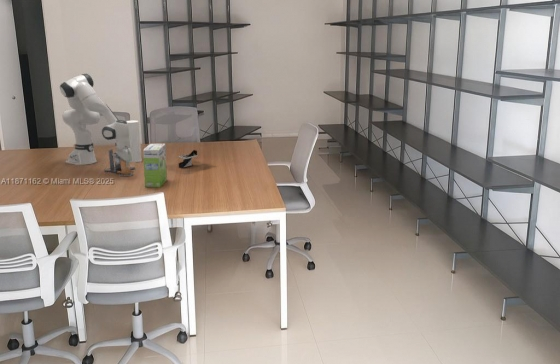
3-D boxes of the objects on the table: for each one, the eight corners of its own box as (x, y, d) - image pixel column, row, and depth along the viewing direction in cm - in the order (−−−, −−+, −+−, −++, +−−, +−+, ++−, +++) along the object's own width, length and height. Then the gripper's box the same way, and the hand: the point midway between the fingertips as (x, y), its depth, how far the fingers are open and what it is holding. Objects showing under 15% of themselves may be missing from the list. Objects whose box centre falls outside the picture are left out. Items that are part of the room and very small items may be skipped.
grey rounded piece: (116, 176, 354) (116, 175, 353) (125, 172, 361) (125, 171, 361) (127, 177, 350) (126, 176, 350) (135, 174, 358) (135, 173, 358)
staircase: (178, 168, 375) (177, 151, 371) (190, 165, 382) (189, 148, 378) (186, 170, 369) (185, 153, 365) (198, 167, 376) (197, 150, 372)
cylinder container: (138, 162, 388) (134, 122, 380) (126, 162, 390) (122, 121, 381) (143, 159, 397) (140, 119, 388) (132, 159, 399) (128, 119, 390)
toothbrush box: (161, 187, 328) (158, 149, 321) (144, 187, 328) (141, 149, 321) (168, 179, 345) (165, 143, 338) (152, 179, 345) (149, 143, 338)
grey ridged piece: (104, 171, 364) (102, 151, 360) (118, 166, 377) (116, 147, 373) (121, 174, 358) (120, 153, 354) (135, 169, 371) (133, 149, 367)
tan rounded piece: (117, 175, 352) (115, 162, 350) (118, 173, 358) (117, 160, 355) (133, 175, 354) (132, 161, 351) (134, 172, 359) (133, 159, 356)
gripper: (133, 147, 343) (135, 167, 347) (123, 141, 360) (125, 161, 364) (123, 148, 340) (125, 169, 344) (114, 142, 356) (116, 162, 360)
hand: (125, 165), depth 354 cm, fingers open, 8 cm apart
